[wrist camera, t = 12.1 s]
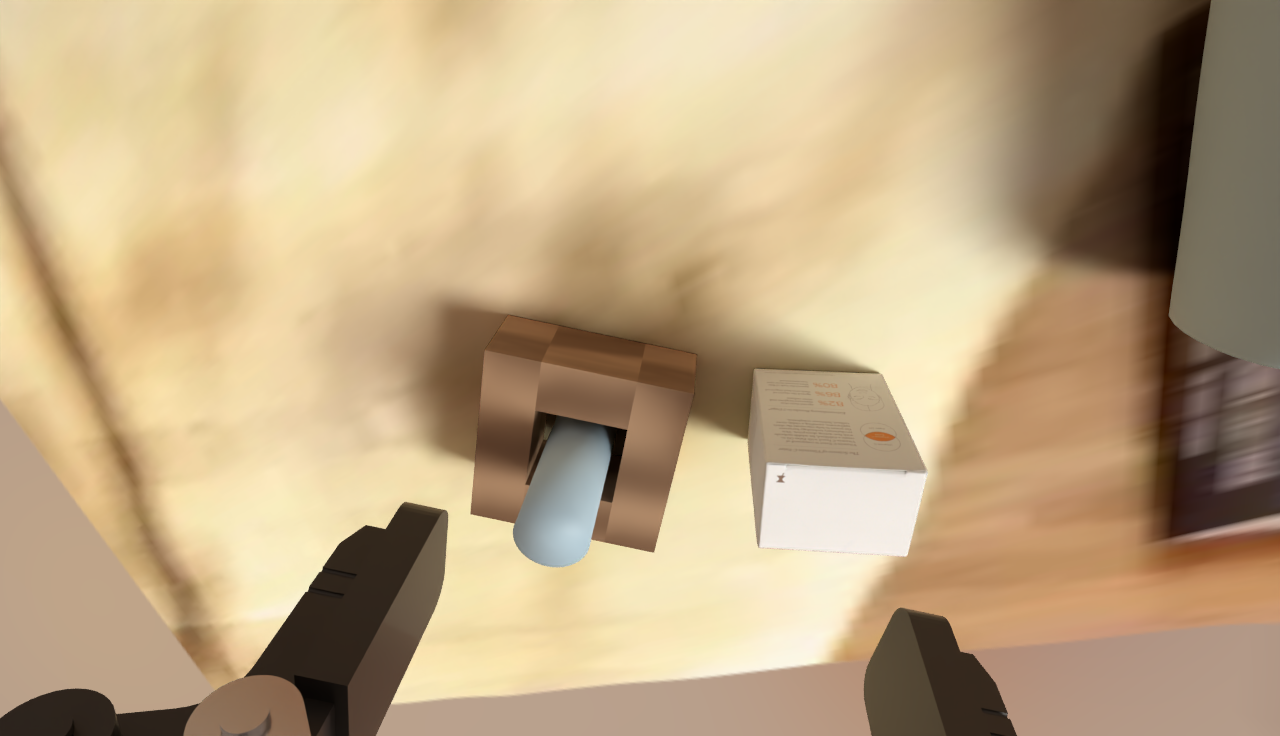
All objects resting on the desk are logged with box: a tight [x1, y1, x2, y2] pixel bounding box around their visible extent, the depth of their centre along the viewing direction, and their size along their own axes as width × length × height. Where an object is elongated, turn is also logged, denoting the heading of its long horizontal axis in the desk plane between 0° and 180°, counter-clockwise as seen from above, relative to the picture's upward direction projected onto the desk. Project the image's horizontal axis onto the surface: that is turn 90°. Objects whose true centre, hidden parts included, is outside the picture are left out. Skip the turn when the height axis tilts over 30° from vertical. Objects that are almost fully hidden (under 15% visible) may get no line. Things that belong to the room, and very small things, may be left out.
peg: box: [513, 415, 617, 567], centre depth 41 cm, size 4×4×12 cm
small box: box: [748, 369, 928, 557], centre depth 40 cm, size 8×6×10 cm
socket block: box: [471, 315, 697, 552], centre depth 44 cm, size 12×12×5 cm
